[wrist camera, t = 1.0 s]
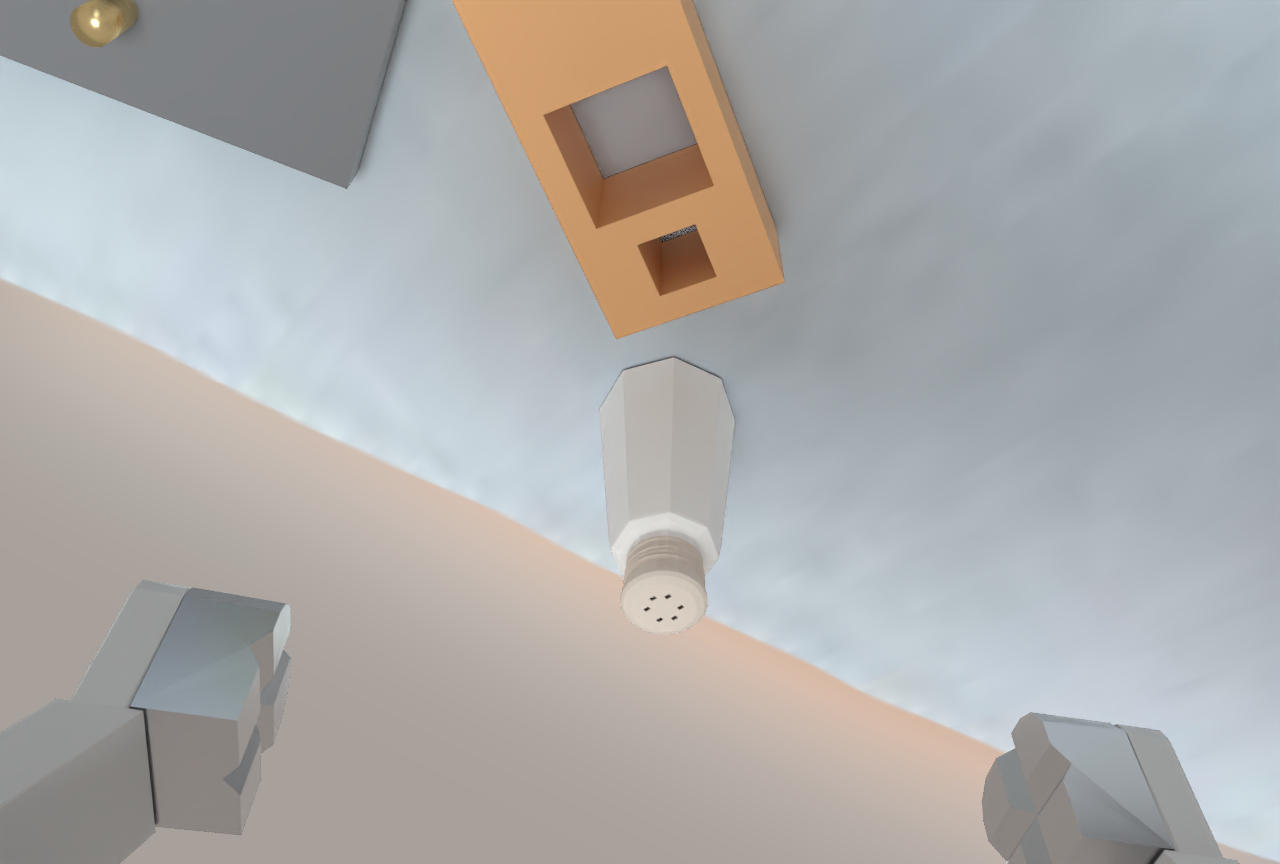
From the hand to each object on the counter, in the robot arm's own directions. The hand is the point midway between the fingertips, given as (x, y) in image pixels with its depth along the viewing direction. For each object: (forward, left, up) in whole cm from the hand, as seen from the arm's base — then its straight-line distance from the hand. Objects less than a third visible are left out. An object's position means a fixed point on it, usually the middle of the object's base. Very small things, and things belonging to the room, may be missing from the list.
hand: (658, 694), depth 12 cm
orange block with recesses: (0, +4, -28) cm, 29 cm away
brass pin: (+16, +7, -28) cm, 33 cm away
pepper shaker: (-6, +15, -29) cm, 33 cm away
